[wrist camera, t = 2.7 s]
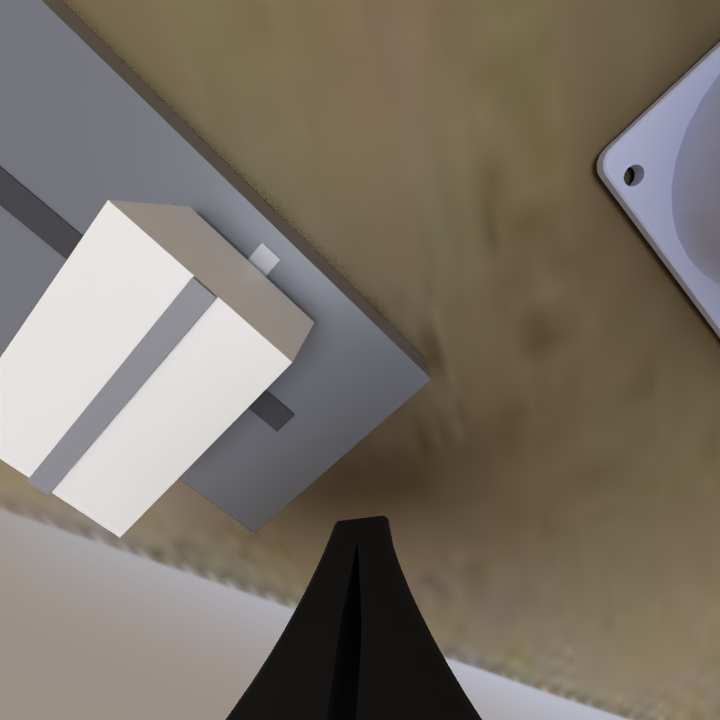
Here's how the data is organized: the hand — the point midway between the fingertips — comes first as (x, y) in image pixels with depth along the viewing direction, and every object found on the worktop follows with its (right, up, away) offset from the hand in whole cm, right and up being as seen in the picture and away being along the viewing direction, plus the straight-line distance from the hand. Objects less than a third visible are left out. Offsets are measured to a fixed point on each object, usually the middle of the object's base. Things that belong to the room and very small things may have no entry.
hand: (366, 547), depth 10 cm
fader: (-5, +5, 0) cm, 7 cm away
